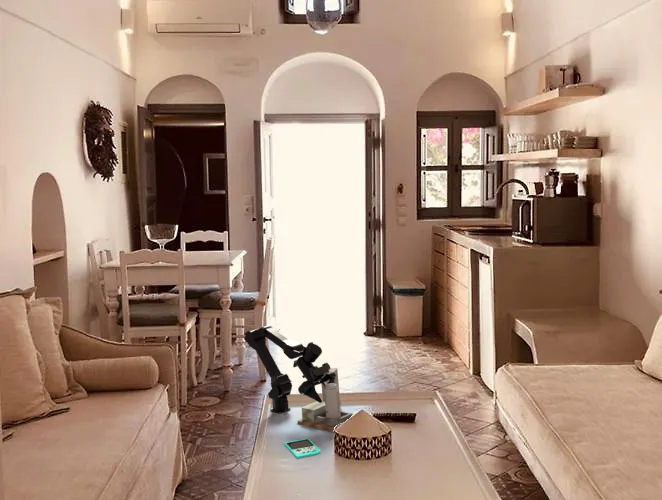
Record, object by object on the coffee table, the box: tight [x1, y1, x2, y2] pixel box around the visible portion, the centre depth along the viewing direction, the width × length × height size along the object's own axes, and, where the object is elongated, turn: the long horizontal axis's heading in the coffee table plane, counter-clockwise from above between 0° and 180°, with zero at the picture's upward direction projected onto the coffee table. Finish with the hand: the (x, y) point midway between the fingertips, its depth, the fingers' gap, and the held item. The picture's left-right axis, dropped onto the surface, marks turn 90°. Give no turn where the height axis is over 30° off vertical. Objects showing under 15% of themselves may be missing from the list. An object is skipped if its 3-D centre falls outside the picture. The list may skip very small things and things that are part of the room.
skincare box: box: [320, 367, 341, 402], centre depth 326 cm, size 8×7×16 cm
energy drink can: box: [324, 383, 341, 420], centre depth 301 cm, size 6×6×15 cm
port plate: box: [296, 400, 354, 433], centre depth 303 cm, size 20×16×6 cm
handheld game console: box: [284, 438, 322, 459], centre depth 275 cm, size 10×16×1 cm, turn 20°
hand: (328, 399), depth 302 cm, fingers open, 9 cm apart
